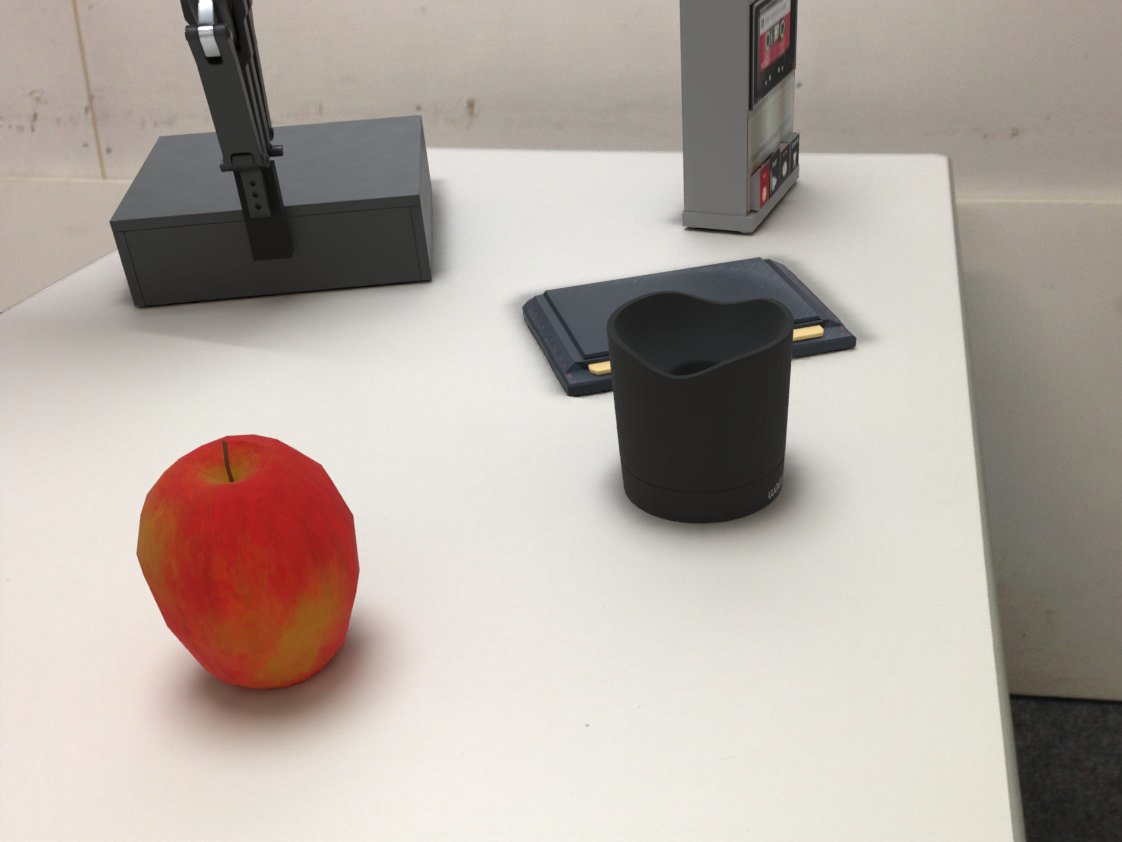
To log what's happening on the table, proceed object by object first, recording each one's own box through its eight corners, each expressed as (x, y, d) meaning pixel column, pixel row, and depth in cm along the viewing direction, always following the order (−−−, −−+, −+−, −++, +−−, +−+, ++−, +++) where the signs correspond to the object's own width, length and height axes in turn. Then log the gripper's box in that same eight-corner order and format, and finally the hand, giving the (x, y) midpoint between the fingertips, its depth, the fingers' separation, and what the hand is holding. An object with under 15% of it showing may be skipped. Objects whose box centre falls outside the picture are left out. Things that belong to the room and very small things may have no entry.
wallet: (782, 244, 94) (862, 324, 82) (782, 269, 95) (860, 351, 84) (515, 282, 91) (558, 371, 79) (518, 307, 92) (561, 399, 80)
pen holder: (678, 559, 65) (673, 380, 59) (586, 484, 72) (572, 315, 66) (824, 502, 69) (832, 328, 63) (723, 435, 76) (722, 271, 69)
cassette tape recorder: (755, 236, 101) (759, -130, 86) (682, 229, 103) (674, -130, 88) (801, 180, 111) (812, -156, 96) (734, 175, 113) (735, -155, 98)
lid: (134, 306, 95) (108, 221, 91) (179, 211, 112) (159, 136, 108) (432, 279, 96) (419, 194, 93) (432, 190, 113) (421, 114, 109)
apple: (205, 618, 63) (136, 396, 56) (389, 603, 63) (343, 381, 56) (163, 744, 56) (77, 507, 48) (371, 726, 56) (316, 489, 49)
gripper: (239, -108, 74) (319, 284, 88) (263, -135, 84) (331, 221, 99) (106, -99, 73) (208, 294, 88) (147, -127, 84) (233, 229, 98)
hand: (273, 255), depth 93 cm, fingers closed
